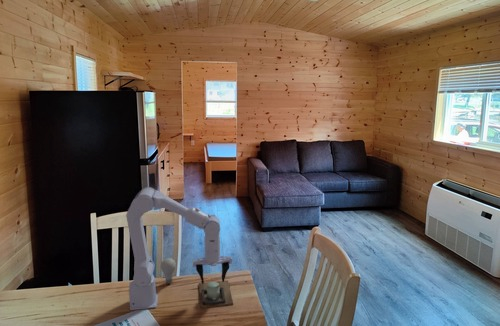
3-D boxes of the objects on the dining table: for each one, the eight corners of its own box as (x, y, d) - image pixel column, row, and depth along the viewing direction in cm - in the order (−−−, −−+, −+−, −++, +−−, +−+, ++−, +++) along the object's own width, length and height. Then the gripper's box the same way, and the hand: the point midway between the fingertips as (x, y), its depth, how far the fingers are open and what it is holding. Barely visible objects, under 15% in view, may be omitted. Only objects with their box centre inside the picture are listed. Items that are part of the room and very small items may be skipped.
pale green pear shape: (206, 293, 141) (206, 281, 140) (218, 291, 142) (218, 280, 141) (207, 302, 135) (207, 290, 134) (220, 300, 136) (220, 288, 135)
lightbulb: (168, 289, 145) (167, 264, 142) (158, 284, 148) (157, 259, 146) (179, 282, 149) (178, 258, 147) (170, 277, 153) (168, 254, 151)
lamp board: (200, 308, 133) (200, 306, 133) (198, 284, 148) (198, 283, 148) (233, 304, 135) (233, 303, 135) (227, 281, 150) (227, 280, 150)
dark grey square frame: (202, 305, 134) (202, 302, 133) (201, 292, 142) (201, 289, 141) (225, 302, 135) (225, 299, 135) (222, 290, 143) (222, 287, 143)
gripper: (192, 255, 129) (193, 289, 132) (233, 251, 131) (233, 285, 134) (192, 246, 135) (193, 278, 138) (230, 243, 138) (230, 275, 141)
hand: (212, 281), depth 137 cm, fingers open, 7 cm apart
